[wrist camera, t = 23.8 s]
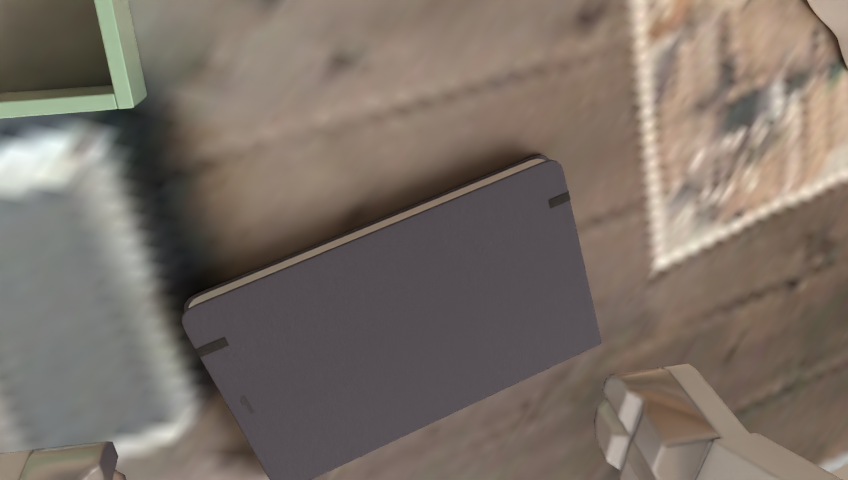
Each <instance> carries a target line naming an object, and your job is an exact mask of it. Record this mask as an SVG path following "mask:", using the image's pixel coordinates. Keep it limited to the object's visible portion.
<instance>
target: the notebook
mask: <svg viewBox="0 0 848 480" xmlns="http://www.w3.org/2000/svg"><path fill="white" fill-rule="evenodd" d="M182 325H183V328H184V330H185V332H186V334H187V336H188V337H189V339H190V341H191V343H192V344H193V346H194V348H195V351H196V352H197V354H198V356H199V357H200V358H201V360H202V362H203V364H204V365H205V367H206V369H207V371H208V372H209V374H210V376H211V378H212V379H213V381H214V383H215V385H216V386H217V388H218V390H219V392H220V393H221V395H222V397H223V399H224V400H225V402H226V404H227V406H228V407H229V409H230V411H231V413H232V414H233V416H234V418H235V420H236V421H237V423H238V425H239V427H240V428H241V430H242V432H243V434H244V435H245V437H246V439H247V441H248V442H249V444H250V446H251V448H252V449H253V451H254V453H255V455H256V456H257V458H258V460H259V462H260V463H261V465H262V467H263V469H264V470H265V472H266V474H267V476H268V477H269V479H270V480H312V479H314V478H316V477H318V476H320V475H322V474H324V473H326V472H329V471H331V470H333V469H335V468H337V467H339V466H341V465H344V464H346V463H348V462H350V461H352V460H354V459H356V458H358V457H361V456H363V455H365V454H367V453H369V452H371V451H373V450H376V449H378V448H380V447H382V446H384V445H386V444H388V443H390V442H393V441H395V440H397V439H399V438H401V437H403V436H405V435H407V434H410V433H412V432H414V431H416V430H418V429H420V428H422V427H425V426H427V425H429V424H431V423H433V422H435V421H437V420H439V419H442V418H444V417H446V416H448V415H450V414H452V413H454V412H456V411H459V410H461V409H463V408H465V407H467V406H469V405H471V404H474V403H476V402H478V401H480V400H482V399H484V398H486V397H488V396H491V395H493V394H495V393H497V392H499V391H501V390H503V389H505V388H508V387H510V386H512V385H514V384H516V383H518V382H520V381H523V380H525V379H527V378H529V377H531V376H533V375H535V374H537V373H540V372H542V371H544V370H546V369H548V368H550V367H552V366H555V365H557V364H559V363H561V362H563V361H565V360H567V359H569V358H572V357H574V356H576V355H578V354H580V353H582V352H584V351H586V350H589V349H591V348H593V347H595V346H597V345H599V344H601V343H602V342H601V337H600V333H599V328H598V324H597V319H596V315H595V310H594V306H593V301H592V297H591V292H590V288H589V283H588V279H587V274H586V270H585V265H584V261H583V256H582V252H581V247H580V243H579V238H578V234H577V229H576V225H575V220H574V216H573V211H572V207H571V202H570V196H569V191H568V189H567V185H566V180H565V176H564V172H563V169H562V166H561V165H560V164H559V163H558V162H557V161H554V160H549V159H548V158H547V157H546V156H543V155H536V156H532V157H529V158H527V159H525V160H522V161H520V162H517V163H515V164H512V165H510V166H507V167H505V168H503V169H500V170H498V171H495V172H493V173H490V174H488V175H485V176H483V177H481V178H478V179H476V180H473V181H471V182H468V183H466V184H463V185H461V186H459V187H456V188H454V189H451V190H449V191H446V192H444V193H441V194H439V195H436V196H434V197H432V198H429V199H427V200H424V201H422V202H419V203H417V204H414V205H412V206H410V207H407V208H405V209H402V210H400V211H397V212H395V213H392V214H390V215H388V216H385V217H383V218H380V219H378V220H375V221H373V222H370V223H368V224H366V225H363V226H361V227H358V228H356V229H353V230H351V231H348V232H346V233H344V234H341V235H339V236H336V237H334V238H331V239H329V240H326V241H324V242H322V243H319V244H317V245H314V246H312V247H309V248H307V249H304V250H302V251H300V252H297V253H295V254H292V255H290V256H287V257H285V258H282V259H280V260H278V261H275V262H273V263H270V264H268V265H265V266H263V267H260V268H258V269H256V270H253V271H251V272H248V273H246V274H243V275H241V276H238V277H236V278H233V279H231V280H229V281H226V282H224V283H221V284H219V285H216V286H214V287H211V288H209V289H207V290H204V291H202V292H199V293H197V294H195V295H193V296H191V297H190V298H189V299H188V300H187V301H186V302H185V304H184V314H183V315H182Z"/></svg>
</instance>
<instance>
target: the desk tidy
mask: <svg viewBox="0 0 848 480" xmlns="http://www.w3.org/2000/svg"><path fill="white" fill-rule="evenodd" d="M94 4H95V8H96V13H97V17H98V22H99V26H100V31H101V35H102V40H103V44H104V49H105V53H106V58H107V62H108V67H109V72H110V76H111V81H112V85H109V86H94V87H80V88H65V89H51V90H37V91H22V92H8V93H0V118H12V117H24V116H37V115H50V114H63V113H75V112H88V111H101V110H113V109H117V108H118V109H126V108H133V107H135V106H136V105H137V104H138V103H139V102H141V101H142V100H143V99H144V98H145V97H147V92H146V87H145V83H144V78H143V73H142V68H141V63H140V58H139V53H138V48H137V43H136V38H135V33H134V28H133V23H132V18H131V13H130V8H129V3H128V0H94Z"/></svg>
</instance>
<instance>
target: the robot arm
mask: <svg viewBox="0 0 848 480" xmlns="http://www.w3.org/2000/svg"><path fill="white" fill-rule="evenodd" d="M807 1H808V3H809V5H810V7H811V8H812V9H813V11H814V12H815V14H816V15H817V16H818V17H819V18H820V19H821V20H822V21H823V22H824V23H825V24H826V25H827V26H828V27H829V28H830V29H831V30H832V31H833V33H834V34H835V35H836V37H837V39H838V42H839V46H840V49H841V52H842V56H843V58H844V61H845V64H846V66H847V68H848V0H807ZM602 391H603V393H604V394H605V396H606V398H607V399H605V400H604V401H603V402H602V403H601V404H600V405H599V406H598V407H597V410H596V414H595V418H594V428H595V437H596V440H597V443H598V446H599V448H600V450H601V452H602V454H603V456H604V458H605V460H606V461H607V462H609V463H610V464H612V465H613V466H615V467H616V468H618V469H619V470H620V472H619V478H618V480H842V479H840V478H838V477H837V476H835V475H833V474H831V473H829V472H828V471H826V470H824V469H822V468H820V467H818V466H817V465H815V464H813V463H811V462H809V461H808V460H806V459H804V458H802V457H800V456H798V455H797V454H795V453H793V452H791V451H789V450H788V449H786V448H784V447H782V446H780V445H779V444H777V443H775V442H773V441H771V440H769V439H768V438H766V437H764V436H762V435H760V434H759V433H751V434H749V432H748V431H747V430H746V429H745V428H744V426H743V425H742V424H741V423H740V422H739V420H738V419H737V418H736V417H735V416H734V414H733V413H732V412H731V411H730V409H729V408H728V407H727V406H726V405H725V403H724V402H723V401H722V400H721V399H720V397H719V396H718V395H717V394H716V393H715V391H714V390H713V389H712V388H711V386H710V385H709V384H708V383H707V382H706V380H705V379H704V378H703V377H702V376H701V374H700V373H699V372H698V371H697V370H696V369H695V368H694V367H692V366H691V365H689V364H683V365H676V366H669V367H662V368H652V369H645V370H638V371H631V372H624V373H617V374H610V375H609V376H608V377H607V378H606V379H605V382H604V385H603V388H602ZM117 459H118V455H117V452H116V450H115V447H114V445H113V442H98V443H89V444H79V445H70V446H61V447H51V448H42V449H35V450H27V451H19V452H10V453H1V454H0V480H126V477H125V475H124V474H122V473H120V472H118V471H117V470H115V467H116V463H117Z"/></svg>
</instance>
